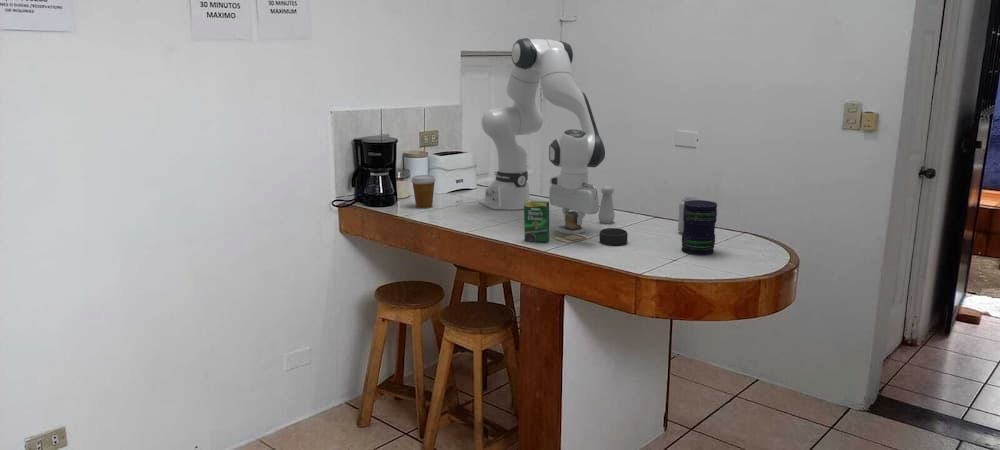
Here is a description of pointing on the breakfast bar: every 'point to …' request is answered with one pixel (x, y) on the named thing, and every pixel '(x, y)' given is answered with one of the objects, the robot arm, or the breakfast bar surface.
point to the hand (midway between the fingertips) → (573, 223)
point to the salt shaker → (606, 206)
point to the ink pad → (561, 229)
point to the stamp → (571, 221)
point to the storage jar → (699, 227)
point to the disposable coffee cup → (423, 190)
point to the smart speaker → (613, 236)
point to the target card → (572, 238)
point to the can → (681, 209)
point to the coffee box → (536, 221)
